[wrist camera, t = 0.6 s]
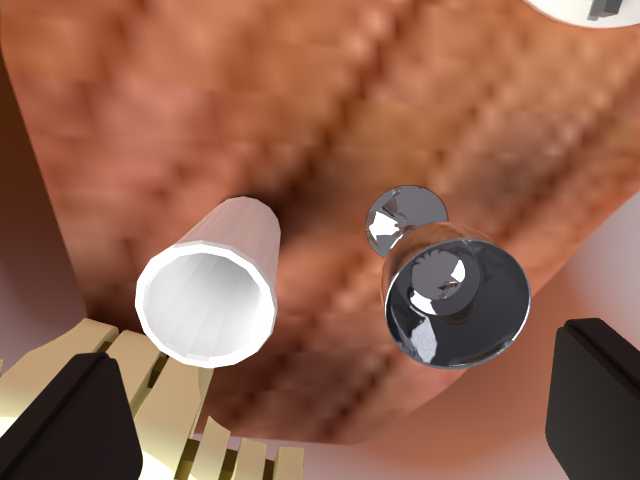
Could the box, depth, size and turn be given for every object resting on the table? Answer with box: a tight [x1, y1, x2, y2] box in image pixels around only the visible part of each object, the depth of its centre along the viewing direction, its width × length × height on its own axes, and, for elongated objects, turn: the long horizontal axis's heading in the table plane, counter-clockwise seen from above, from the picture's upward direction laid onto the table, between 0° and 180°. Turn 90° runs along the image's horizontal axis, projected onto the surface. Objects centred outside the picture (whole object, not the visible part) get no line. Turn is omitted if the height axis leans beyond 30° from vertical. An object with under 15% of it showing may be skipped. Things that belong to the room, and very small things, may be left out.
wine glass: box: [366, 185, 531, 370], centre depth 31 cm, size 8×8×15 cm
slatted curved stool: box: [0, 318, 304, 480], centre depth 35 cm, size 30×16×18 cm, turn 71°
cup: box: [135, 196, 281, 368], centre depth 32 cm, size 8×8×14 cm
